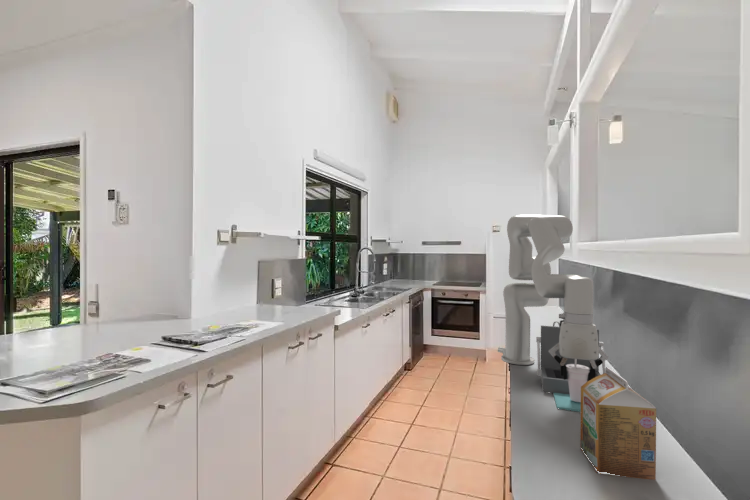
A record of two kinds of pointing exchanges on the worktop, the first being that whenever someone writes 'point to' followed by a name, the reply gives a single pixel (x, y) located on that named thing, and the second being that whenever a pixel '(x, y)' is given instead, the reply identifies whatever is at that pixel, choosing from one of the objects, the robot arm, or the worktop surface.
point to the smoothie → (576, 379)
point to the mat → (566, 402)
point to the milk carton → (618, 427)
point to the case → (550, 366)
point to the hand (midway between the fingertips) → (577, 379)
